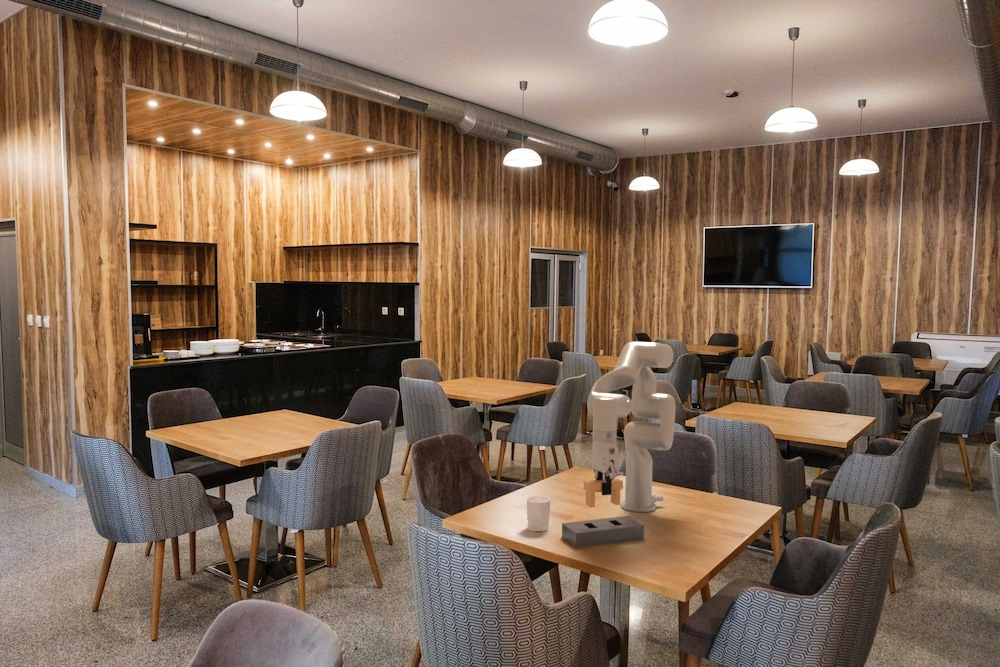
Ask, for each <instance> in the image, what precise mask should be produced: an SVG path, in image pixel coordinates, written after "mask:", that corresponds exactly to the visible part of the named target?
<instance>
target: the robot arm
mask: <svg viewBox="0 0 1000 667" xmlns="http://www.w3.org/2000/svg"><path fill="white" fill-rule="evenodd" d="M622 347H623V348H622V350H621V353H620V354H619V356H618V359H617V362H616V363H615V367H614V369H612V370H611V371H608V372H606V374H604V375H603V376H601V377H599V378H598V379H597V380H596V381H595V382H594V384H593V385H592V388H591V389H590V392H589V395H588V398H587V403H586V407H587V410H588V412H589V414H591V415H592V448H591V467H592V469H593V472H594V479H595V480H603V482H602V491H595V493H601V496H611V488H612V482H613V478H614V479H616V478H617V477H616V474H615V473H617V472H618V471H619V470H618V467H619V449H618V442H617V441H618V440H617V437H618V435H617V433H618V429H617V428H618V427H617V424H618V418H619V419H621V418H622V419H623V418H626V417H627V416H629V415H630V413H631V414H632V415H633V416H634V417H637V418H641V419H649V420H651V419H653V420H659V423H658V422H650V421H643V420H642V421H638V420H637V421H636V420H634V421H630V422H628V423H627V424H626V425H625V427H624V428H623V429H624V430H623V438H624V444H625V492H624V493H625V494H624V495H625V496H624V498H625V499H624V500H622V501H620V507H621V508H622V509H623V510H626V511H628V512H635V513H648V512H649V513H650V512H653V511H655V510H656V509H657V505H656V503H657V502H664V499H665V498H664V496H663V495H658V496H657V494H653V465H654V464H653V463H654V462H653V457H652V455H651V454H650V451H649V450H655V451H668V450H670V449H671V448H672V446H673V443H674V442H673V441H674V433H675V422H676V401H675V397H673V395H671V394H669V393H662V392H657V385H658V384H657V382H658V381H657V380H658V379H657V376H656V374H655V373H654V372H653V370H652V369H651V368H660V369H662V368H663V369H667V368H669V367H671V366H672V364H673V361H674V351H673V348H672V346H671V345H669V344H666V343H661V342H655V341H654V342H653V341H652V342H651V341H630V342H629V341H628V343H626V344H625V345H624V346H622ZM630 386H632V392H631V398H630V397H629V396H627V395H626V394H620V393H612V391H617V390H620V389H624V388H627V387H630ZM610 392H611V393H610ZM607 471H609V472H607ZM606 475H609V476H607V477H606Z"/></svg>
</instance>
